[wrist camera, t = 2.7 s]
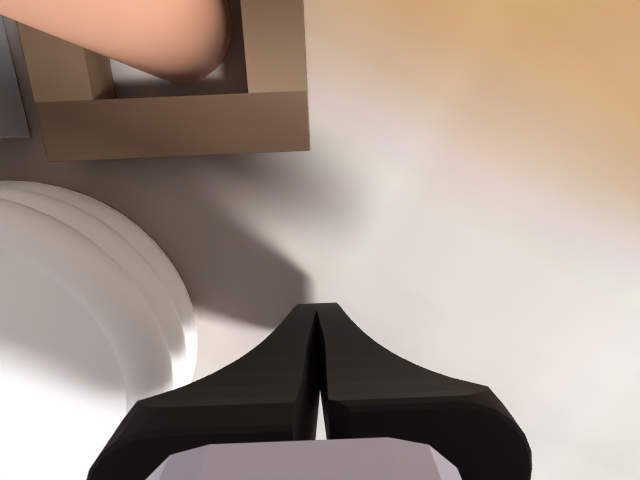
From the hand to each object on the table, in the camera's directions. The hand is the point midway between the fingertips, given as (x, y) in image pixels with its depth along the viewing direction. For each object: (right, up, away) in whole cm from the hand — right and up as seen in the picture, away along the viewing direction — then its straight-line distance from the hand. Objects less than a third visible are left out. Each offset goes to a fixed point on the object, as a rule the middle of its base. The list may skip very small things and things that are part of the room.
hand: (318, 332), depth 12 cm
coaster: (-9, 0, +1) cm, 9 cm away
